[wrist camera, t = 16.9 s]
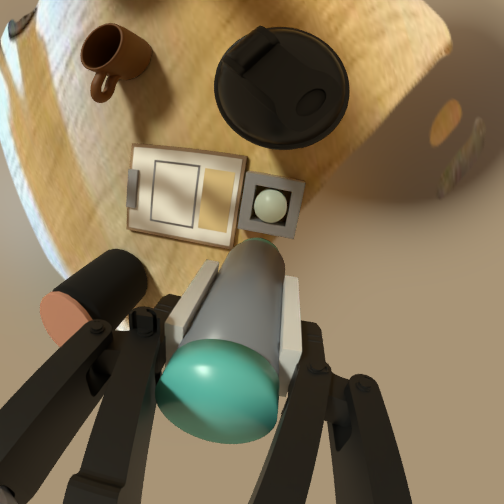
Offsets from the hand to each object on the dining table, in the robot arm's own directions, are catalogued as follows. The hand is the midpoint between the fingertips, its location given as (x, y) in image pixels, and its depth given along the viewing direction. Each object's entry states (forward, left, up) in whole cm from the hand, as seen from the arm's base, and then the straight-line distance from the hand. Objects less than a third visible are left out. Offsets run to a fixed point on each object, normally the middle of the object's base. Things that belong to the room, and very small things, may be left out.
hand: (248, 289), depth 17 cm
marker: (0, 0, -5) cm, 5 cm away
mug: (-18, -25, -27) cm, 41 cm away
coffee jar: (+17, -23, -27) cm, 40 cm away
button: (0, 0, -27) cm, 27 cm away
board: (+1, -13, -27) cm, 30 cm away
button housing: (0, 0, -27) cm, 27 cm away
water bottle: (-13, 0, -27) cm, 30 cm away
